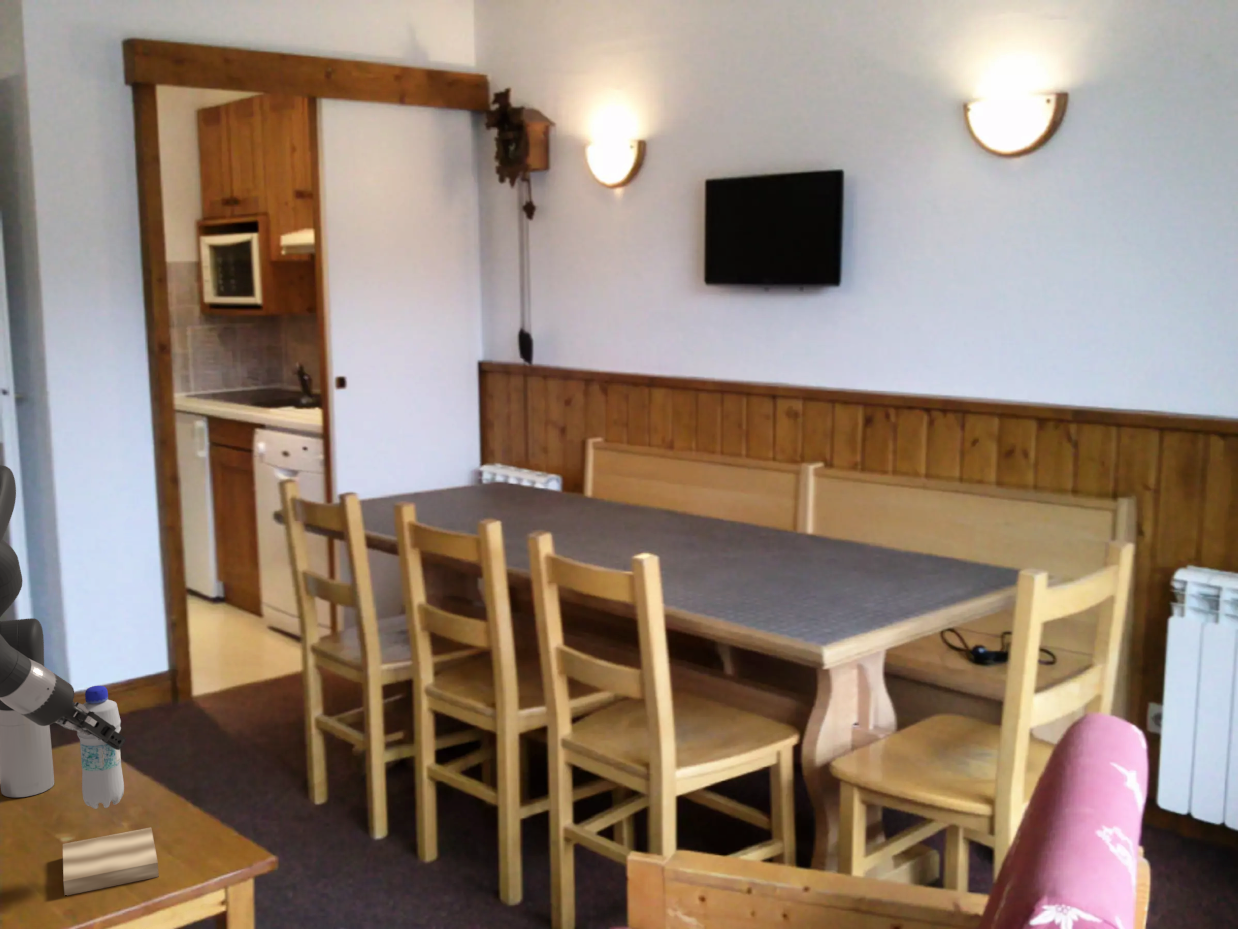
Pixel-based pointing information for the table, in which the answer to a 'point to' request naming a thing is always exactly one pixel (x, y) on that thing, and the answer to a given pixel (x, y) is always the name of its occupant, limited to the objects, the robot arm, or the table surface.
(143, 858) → the birch stand
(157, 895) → the table surface
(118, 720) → the bottle
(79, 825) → the table surface
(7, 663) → the robot arm
